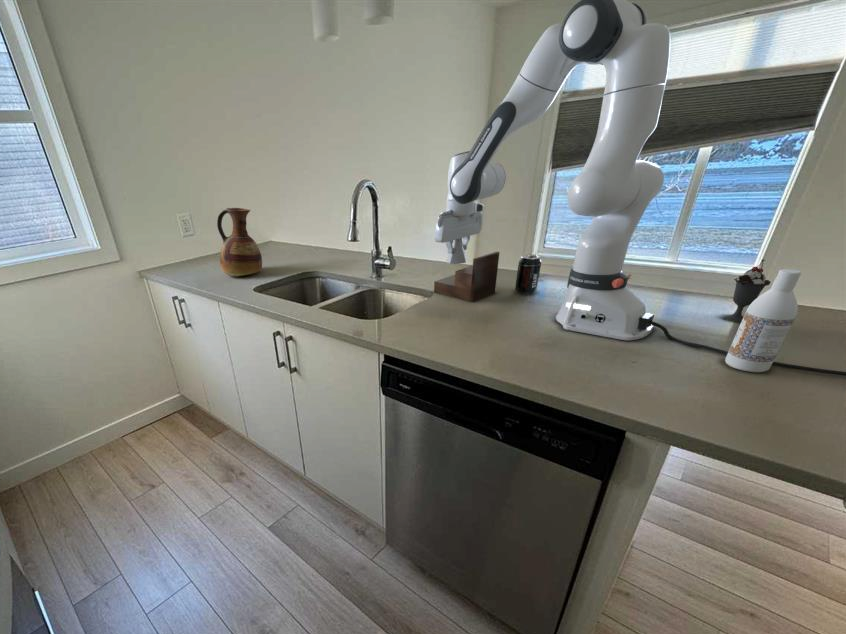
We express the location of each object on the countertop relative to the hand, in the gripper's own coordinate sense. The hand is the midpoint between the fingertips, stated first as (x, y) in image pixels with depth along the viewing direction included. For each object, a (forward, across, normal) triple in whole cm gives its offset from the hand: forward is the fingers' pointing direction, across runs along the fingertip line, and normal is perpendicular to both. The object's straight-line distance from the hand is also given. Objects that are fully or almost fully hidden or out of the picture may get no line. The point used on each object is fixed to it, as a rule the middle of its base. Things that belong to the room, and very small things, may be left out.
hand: (457, 251), depth 139 cm
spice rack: (+14, 0, -4) cm, 14 cm away
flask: (+4, 0, 0) cm, 4 cm away
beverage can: (+14, +13, -20) cm, 27 cm away
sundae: (+14, +25, -72) cm, 77 cm away
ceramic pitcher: (+14, -41, +94) cm, 104 cm away
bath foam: (+14, -4, -80) cm, 82 cm away
